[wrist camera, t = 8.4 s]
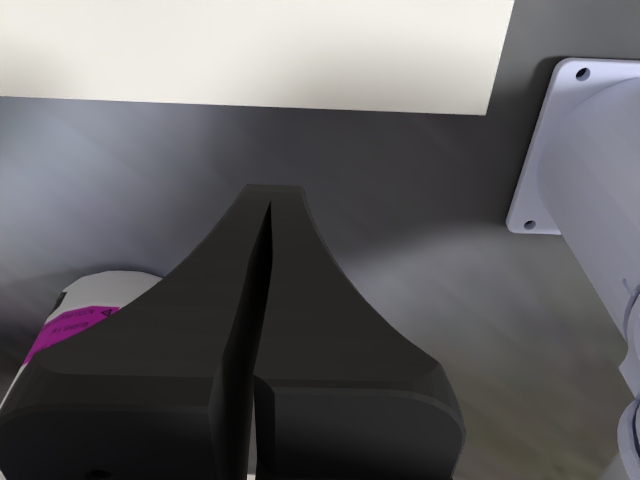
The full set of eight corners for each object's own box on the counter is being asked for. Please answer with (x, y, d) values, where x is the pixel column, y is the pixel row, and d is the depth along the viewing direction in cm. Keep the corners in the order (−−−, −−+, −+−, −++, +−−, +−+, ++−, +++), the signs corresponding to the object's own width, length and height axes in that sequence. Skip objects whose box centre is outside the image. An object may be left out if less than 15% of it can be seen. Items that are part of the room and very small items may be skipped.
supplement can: (63, 355, 31) (-97, 691, 19) (56, 246, 26) (-165, 606, 14) (205, 377, 32) (139, 704, 20) (224, 277, 27) (154, 630, 15)
